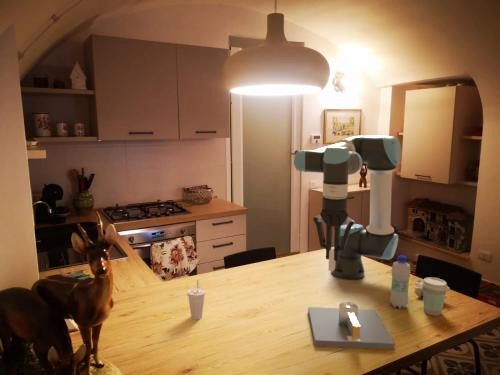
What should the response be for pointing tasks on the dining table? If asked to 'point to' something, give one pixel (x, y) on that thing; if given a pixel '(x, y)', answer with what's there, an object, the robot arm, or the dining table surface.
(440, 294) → the coffee cup
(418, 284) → the cat figurine
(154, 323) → the dining table surface
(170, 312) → the dining table surface
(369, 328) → the grey base plate
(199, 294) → the smoothie
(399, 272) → the bottle
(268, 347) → the dining table surface
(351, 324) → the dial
